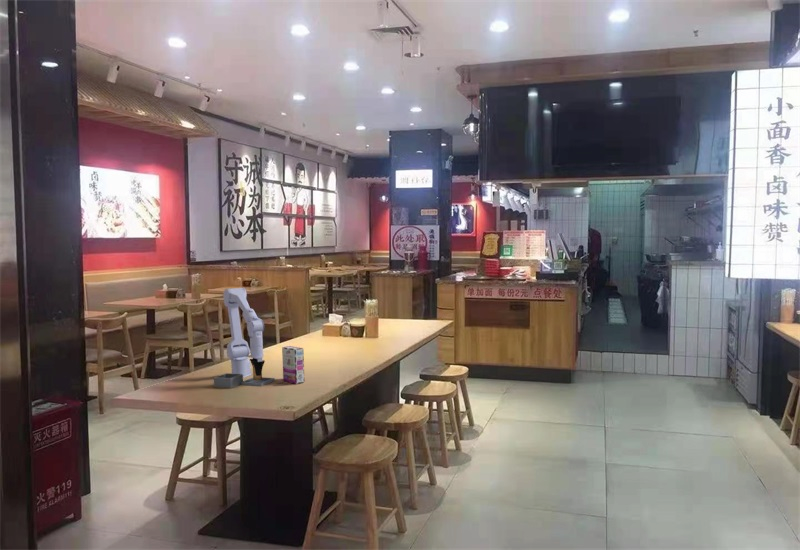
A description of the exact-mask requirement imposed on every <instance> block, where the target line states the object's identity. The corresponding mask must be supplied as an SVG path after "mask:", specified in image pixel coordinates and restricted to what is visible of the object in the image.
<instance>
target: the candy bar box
mask: <svg viewBox="0 0 800 550" xmlns="http://www.w3.org/2000/svg"><path fill="white" fill-rule="evenodd" d="M281 348H282V349H281V353H282V379H283V382H286V383H291V384H294V385H298V384H304V383H305V361H304V359H305V358H304V355H305V354H304V347H300V346H299V347H298V346H293V345H289V346H288V345H286V346H282V347H281Z"/></svg>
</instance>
